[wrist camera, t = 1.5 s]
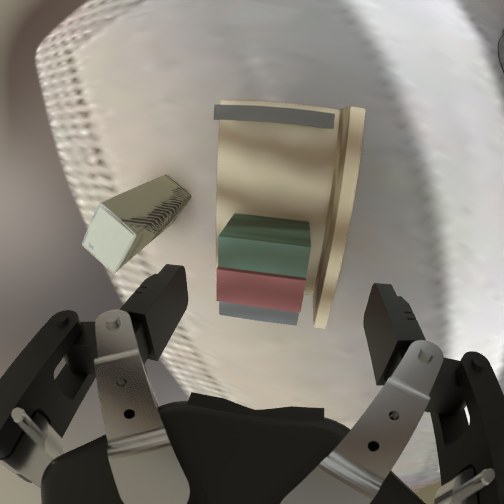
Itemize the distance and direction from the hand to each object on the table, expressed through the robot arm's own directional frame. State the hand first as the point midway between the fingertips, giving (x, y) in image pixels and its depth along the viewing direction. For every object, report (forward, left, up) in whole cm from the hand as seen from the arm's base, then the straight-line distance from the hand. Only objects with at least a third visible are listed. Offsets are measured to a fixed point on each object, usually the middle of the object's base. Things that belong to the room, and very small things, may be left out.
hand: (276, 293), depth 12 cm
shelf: (+2, -1, -20) cm, 20 cm away
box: (+3, -14, -20) cm, 25 cm away
